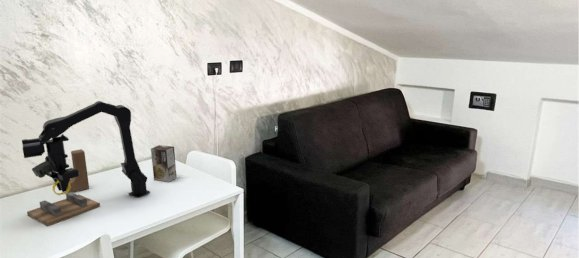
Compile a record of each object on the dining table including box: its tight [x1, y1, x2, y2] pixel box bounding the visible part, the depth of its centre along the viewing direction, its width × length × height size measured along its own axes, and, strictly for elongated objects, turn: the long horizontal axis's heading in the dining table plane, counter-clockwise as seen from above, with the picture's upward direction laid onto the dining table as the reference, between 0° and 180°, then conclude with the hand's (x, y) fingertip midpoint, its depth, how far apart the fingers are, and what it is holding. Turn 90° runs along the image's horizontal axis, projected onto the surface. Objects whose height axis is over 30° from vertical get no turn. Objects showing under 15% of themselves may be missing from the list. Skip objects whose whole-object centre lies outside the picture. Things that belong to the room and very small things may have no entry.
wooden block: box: [65, 148, 90, 193], centre depth 169 cm, size 9×4×18 cm, turn 133°
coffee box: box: [150, 144, 177, 183], centre depth 183 cm, size 9×6×16 cm
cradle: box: [26, 192, 101, 227], centre depth 151 cm, size 16×20×4 cm
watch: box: [52, 180, 71, 196], centre depth 149 cm, size 6×3×6 cm, turn 138°
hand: (62, 191), depth 149 cm, fingers closed on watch, 2 cm apart
